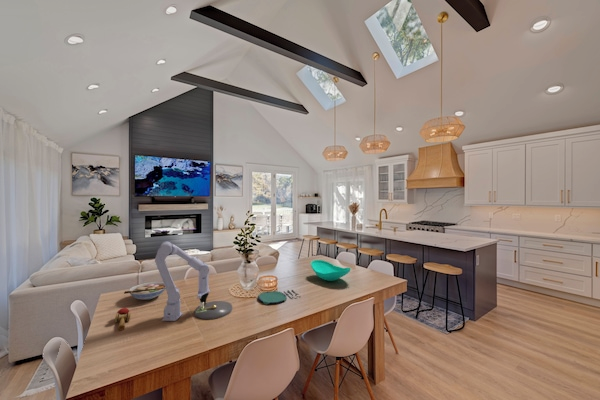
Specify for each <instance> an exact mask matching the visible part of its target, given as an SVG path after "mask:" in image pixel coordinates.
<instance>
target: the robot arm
mask: <svg viewBox="0 0 600 400" xmlns="http://www.w3.org/2000/svg"><path fill="white" fill-rule="evenodd" d="M170 254H171V255H172V256H174V255H176V256H178V257H180V258H182V259H184V261H186V262H187V266H188V265H189V267H191V268H192V269H194V270H195V271H198V291H197V295H196V299H199V301H200V302H201V301H204V306H205V304H206V303H207V298H208V296H209V293H210V292H211V290H210V286H209V273H210V268H209V265H208V264H207V263H206V262H204V261H202V260H201V259H199V257H198V256H191V255H190V254H188V253H187V252H186V251H184V250H183V249H182V248H180V247H179V246H177V245H176V244H174V243H172V242H170V241H168V240H167V241H163V242H162V243H161V244H160V245H159V247H158V249H157V253H156V255H155V258H154V262H155V265H156V268H157V270H158V273H159V275H160V278H161V279H162V282H164V285H165V287H166V289H165V291H166V294H167V300H166V305H165V307H164V308H163V318H162V319H161V321H162V322H165V321H166V322H167V321H168V322H169V321H170V322H176V321H177V320H178V319H179V318H180V317H181V316H182V315H183V314H184V312H181V295H180V294H181V293H180V292H181V291H180V289H179V288H178V287H177V286H176V283H175V282H174V280H173V277H172V275H171V272H170V270H169V267H168V265H167V262H166V259H167V257H168V256H169V255H170ZM200 302H199V303H200Z"/></svg>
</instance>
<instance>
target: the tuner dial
mask: <svg viewBox="0 0 600 400" xmlns="http://www.w3.org/2000/svg"><path fill="white" fill-rule="evenodd" d="M212 305H217V308H216V309H206V310H203V311H197V309H200V305H198V306H196V307H195V309H194V316H195V317H196V318H198V319H199V320H200V319H201V320H216V319H221V318H224V317H226V316H229V314H231V312H232V311H233V305H232V303H230V302H228V301H224V300H214V301H208V302H207V301H206V304H205V306H204V308H207V307H211V306H212Z"/></svg>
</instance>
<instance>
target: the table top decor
mask: <svg viewBox="0 0 600 400" xmlns="http://www.w3.org/2000/svg"><path fill="white" fill-rule="evenodd" d="M310 266H311V269H312V271H313V272H314V274H316V276H317V277H318V278H320V279H322V280H324V281H327V282H335V281H337V280H339V279H342V277H345V276H347V274H349V273H350V272H351V269H352V268H351V267H340V266H337V265H334V264H333V263H331V262H328V261H325V260H321V259H315V260H312V261H310Z"/></svg>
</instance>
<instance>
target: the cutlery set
mask: <svg viewBox="0 0 600 400" xmlns="http://www.w3.org/2000/svg"><path fill="white" fill-rule="evenodd" d="M285 291H286V290H285ZM285 291H284V290H283V292H282V291H278V290H272V291H265V292H261V293H259V294H258V295H257V298H258V300H259V302H262V303H263V304H264V305H265V306H266V305H267V306H268V304H279V303H282V302H286V301H287V299H288V298H289V299H291V300H293V297H296V294H297V295H300V294H299V293H297V292H296V291H295V290H294V289H291V290H288V289H287V292H288V293H287V292H285ZM284 293H285V294H284ZM293 293H294V294H295V293H296V294H295V296H293V295H294V294H293ZM287 295H288V297H287ZM292 296H293V297H292Z"/></svg>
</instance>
